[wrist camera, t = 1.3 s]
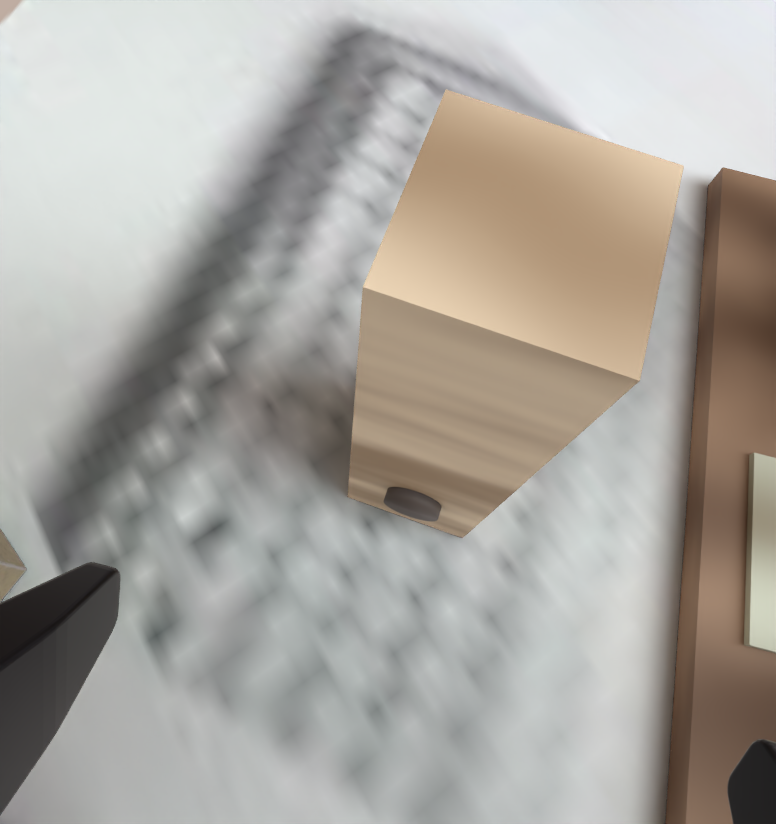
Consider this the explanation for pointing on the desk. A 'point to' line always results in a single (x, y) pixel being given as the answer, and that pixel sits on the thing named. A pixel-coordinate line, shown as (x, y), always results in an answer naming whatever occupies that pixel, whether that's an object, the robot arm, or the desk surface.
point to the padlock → (8, 566)
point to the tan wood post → (502, 309)
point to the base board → (729, 509)
